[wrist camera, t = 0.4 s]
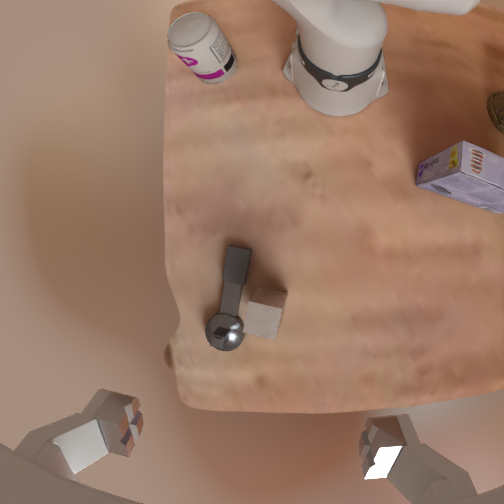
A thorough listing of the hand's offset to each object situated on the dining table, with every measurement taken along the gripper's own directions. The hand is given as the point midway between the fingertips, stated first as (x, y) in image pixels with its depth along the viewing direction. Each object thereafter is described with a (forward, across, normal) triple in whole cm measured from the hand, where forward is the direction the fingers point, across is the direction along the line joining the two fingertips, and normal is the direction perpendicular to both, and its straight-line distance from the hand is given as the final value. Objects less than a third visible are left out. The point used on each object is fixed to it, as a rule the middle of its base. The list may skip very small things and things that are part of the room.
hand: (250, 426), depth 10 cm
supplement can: (+52, +12, -27) cm, 60 cm away
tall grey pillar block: (+44, 0, +15) cm, 46 cm away
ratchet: (+45, +7, +15) cm, 48 cm away
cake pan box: (+44, -34, -8) cm, 56 cm away
